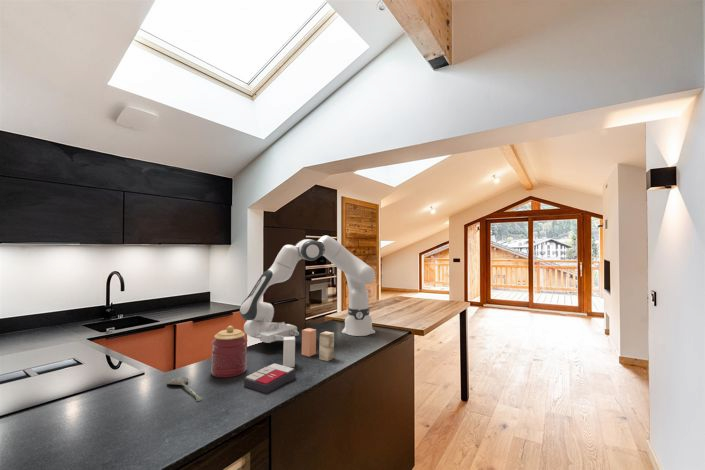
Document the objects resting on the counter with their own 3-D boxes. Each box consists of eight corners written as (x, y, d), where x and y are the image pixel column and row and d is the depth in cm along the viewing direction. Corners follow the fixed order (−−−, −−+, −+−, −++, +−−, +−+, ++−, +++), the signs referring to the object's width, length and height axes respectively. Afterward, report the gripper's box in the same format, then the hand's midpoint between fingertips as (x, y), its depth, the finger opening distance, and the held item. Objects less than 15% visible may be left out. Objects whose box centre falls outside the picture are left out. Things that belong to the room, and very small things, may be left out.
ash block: (325, 356, 147) (325, 331, 148) (333, 358, 145) (334, 332, 145) (319, 359, 144) (319, 333, 144) (327, 361, 141) (327, 335, 141)
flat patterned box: (243, 376, 115) (273, 361, 128) (243, 388, 116) (274, 372, 128) (266, 383, 110) (295, 367, 123) (266, 396, 110) (296, 378, 123)
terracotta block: (308, 352, 153) (308, 328, 153) (315, 353, 150) (316, 329, 151) (301, 354, 149) (302, 330, 149) (309, 356, 146) (309, 331, 147)
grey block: (283, 363, 137) (283, 336, 138) (294, 362, 138) (294, 336, 139) (283, 367, 133) (283, 340, 133) (294, 366, 134) (295, 339, 134)
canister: (235, 380, 120) (236, 331, 121) (203, 376, 123) (204, 328, 124) (252, 367, 133) (253, 323, 134) (223, 364, 136) (224, 321, 136)
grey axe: (184, 381, 122) (164, 387, 117) (183, 371, 122) (164, 377, 117) (209, 398, 106) (187, 406, 102) (208, 388, 106) (187, 395, 102)
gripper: (253, 329, 154) (275, 334, 147) (284, 321, 172) (305, 325, 164) (253, 343, 154) (274, 348, 147) (284, 333, 171) (305, 337, 164)
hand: (291, 336), depth 156 cm, fingers open, 8 cm apart
